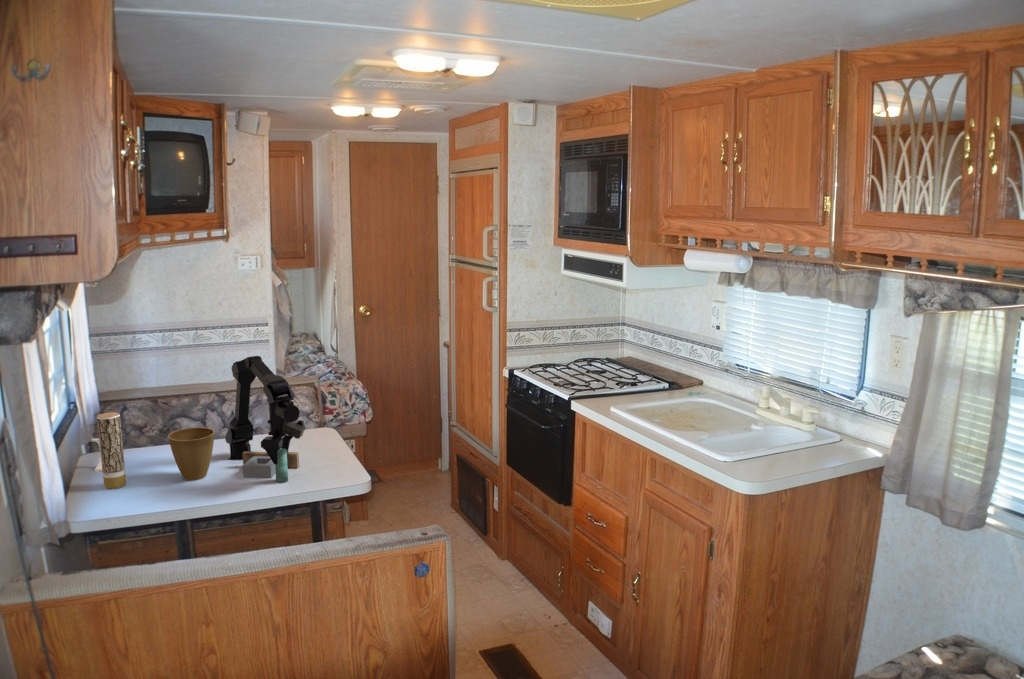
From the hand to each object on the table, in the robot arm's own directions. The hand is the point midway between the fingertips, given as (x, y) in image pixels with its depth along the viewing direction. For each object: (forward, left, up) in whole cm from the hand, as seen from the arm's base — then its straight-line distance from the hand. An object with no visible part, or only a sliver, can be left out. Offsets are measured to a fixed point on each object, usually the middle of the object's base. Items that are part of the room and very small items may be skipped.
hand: (280, 459), depth 266 cm
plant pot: (-32, +2, -8) cm, 33 cm away
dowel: (0, 0, -8) cm, 8 cm away
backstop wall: (-9, +13, -8) cm, 18 cm away
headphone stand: (-69, +9, -8) cm, 70 cm away
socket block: (-10, +7, -8) cm, 14 cm away
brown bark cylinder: (-55, -8, -8) cm, 56 cm away
